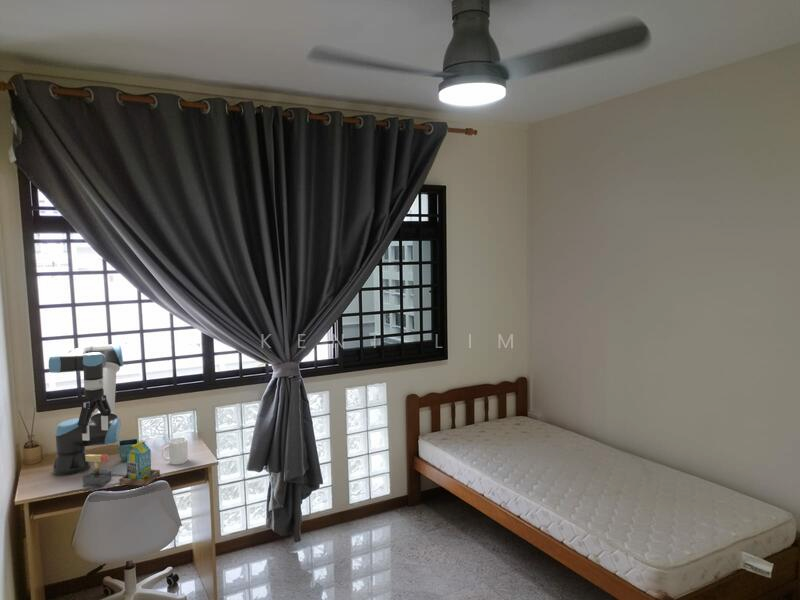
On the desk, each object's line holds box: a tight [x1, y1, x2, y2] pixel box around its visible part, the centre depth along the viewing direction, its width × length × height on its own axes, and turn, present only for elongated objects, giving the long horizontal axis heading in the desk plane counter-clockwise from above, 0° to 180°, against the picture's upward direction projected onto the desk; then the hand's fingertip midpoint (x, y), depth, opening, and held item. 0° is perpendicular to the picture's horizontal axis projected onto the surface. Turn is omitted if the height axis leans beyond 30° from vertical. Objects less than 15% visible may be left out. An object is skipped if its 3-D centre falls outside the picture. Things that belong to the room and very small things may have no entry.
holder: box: [118, 468, 161, 487], centre depth 252 cm, size 13×12×2 cm
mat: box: [110, 461, 127, 477], centre depth 263 cm, size 14×14×1 cm
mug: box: [161, 437, 189, 466], centre depth 272 cm, size 9×12×11 cm
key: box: [85, 453, 109, 474], centre depth 248 cm, size 9×2×8 cm, turn 86°
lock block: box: [82, 469, 112, 488], centre depth 248 cm, size 8×8×4 cm
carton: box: [126, 440, 152, 479], centre depth 252 cm, size 7×8×18 cm
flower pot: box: [117, 438, 139, 463], centre depth 275 cm, size 9×9×9 cm
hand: (95, 435), depth 247 cm, fingers open, 13 cm apart
